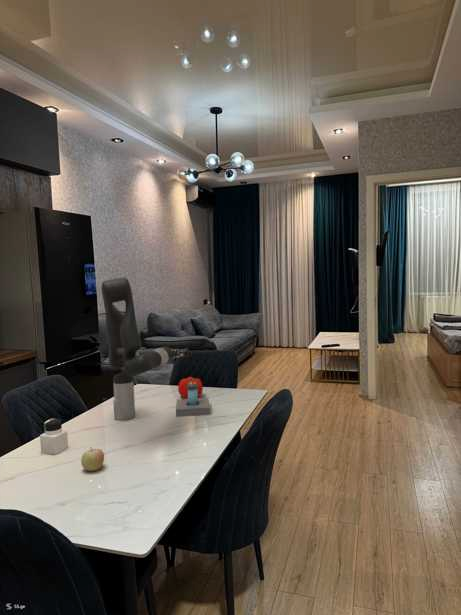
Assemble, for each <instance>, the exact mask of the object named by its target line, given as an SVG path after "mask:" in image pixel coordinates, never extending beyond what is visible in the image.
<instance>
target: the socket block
mask: <svg viewBox="0 0 461 615" xmlns="http://www.w3.org/2000/svg"><path fill="white" fill-rule="evenodd" d="M197 398H198V405H188V399H184V398H180V399H176V402H175V417H176V418H177V417H178V418H179V417H180V418H181V417H193V416H209V415H211V406H210V401H209V397H197Z"/></svg>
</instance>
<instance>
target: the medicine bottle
mask: <svg viewBox="0 0 461 615" xmlns="http://www.w3.org/2000/svg"><path fill="white" fill-rule="evenodd" d="M68 439H69V438H68V430H66V429H63V426H62V420H61V419H59V418H51V419H48V420H46V421H45V422H44V432H43V433H42V434H40V435H39V442H40V443H39V444H40V453H41V454H47V455H53V456H55V455H59V454H60V453H61V452H64V451H65V450H66V449H68V448H69V440H68Z"/></svg>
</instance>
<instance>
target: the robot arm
mask: <svg viewBox="0 0 461 615" xmlns="http://www.w3.org/2000/svg"><path fill="white" fill-rule="evenodd" d="M101 295H102V300H103V306H104V312H105V328H106V336H107V341H108V342H107V343H108V363H109V366H110V368H111V369H120V368H121V369H122V368H123V369H124V370H123V371H122V372H120V373H117V374H115V375H114V376H113V377H112V378H113V380H112V381H113V397H114V398H113V413H114V414H113V416H114V417H113V418H114V420H115V421H116V420H117V421H128V420H132V419H134V418H135V417H136V404H135V401H136V400H135V385H134V377H136V376H138V375H141V374H144V373H147V372H149V371H152V370H153V369H156V368H157V369H158V368H159V367H160V368H161V367H163V366H166V365H168V364H170V363H171V362H172V361H173V360H174V359H175V358H180V359H182V358H184V357H187V356H189V351H190V350H189V348H187V347H186V348H183V349H180V348H176V349H175V348H172V347H168V346H162V347H159V348H156V349H153V350H151V351H148V352H145V353H141V354H139V355H136V354H137V352H138V351H139V350H140V349H141V348H142V340H141V337H140V334H139V329H138V325H137V319H136V313H135V312H136V311H135V305H134V298H133V292H132V287H131V283H130V281H129V280H128V278H126V277H124V276H123V277H118V278H112V279H107V280H104V281H102V283H101ZM123 301H124V302H125V311H124V313H123V312H122V311H121V310H119V309H118V308H117V307H116V306H115V304H114V303H118V302H123ZM121 344H122V347H119V346H120V345H121Z"/></svg>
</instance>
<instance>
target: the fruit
mask: <svg viewBox="0 0 461 615" xmlns="http://www.w3.org/2000/svg"><path fill="white" fill-rule="evenodd" d="M104 460H105V454H104V451H103V450H102V449H100V448H92V447H90V449H88V450H86V451H84V452H83V453H82V456H81V459H80V462H81V466H82V468H83V469H84V470H86V471H91V472H93V471H97V470H100V469H101V467H102V466H103V464H104Z"/></svg>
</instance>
